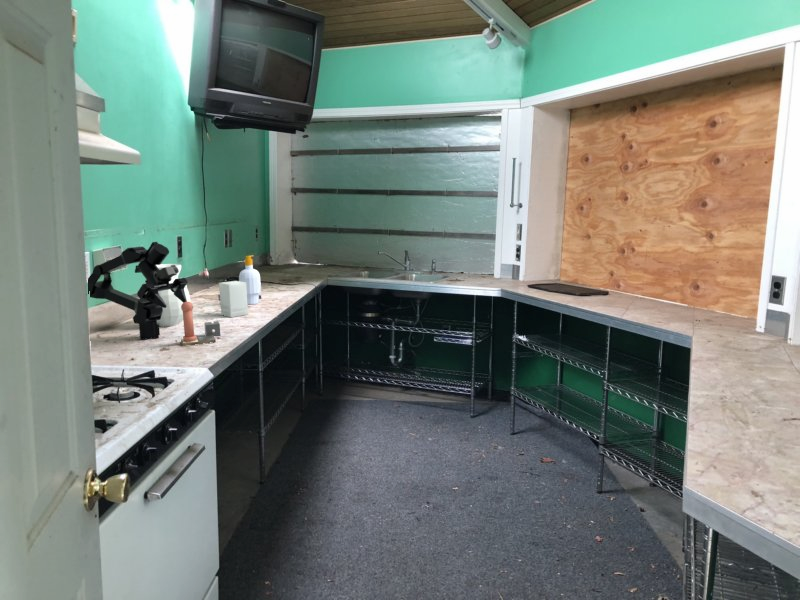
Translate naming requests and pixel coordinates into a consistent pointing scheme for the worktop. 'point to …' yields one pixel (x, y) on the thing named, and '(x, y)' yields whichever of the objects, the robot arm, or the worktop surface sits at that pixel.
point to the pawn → (188, 322)
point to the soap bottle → (251, 281)
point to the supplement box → (233, 298)
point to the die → (212, 328)
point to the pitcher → (171, 302)
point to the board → (199, 340)
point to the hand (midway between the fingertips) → (176, 305)
